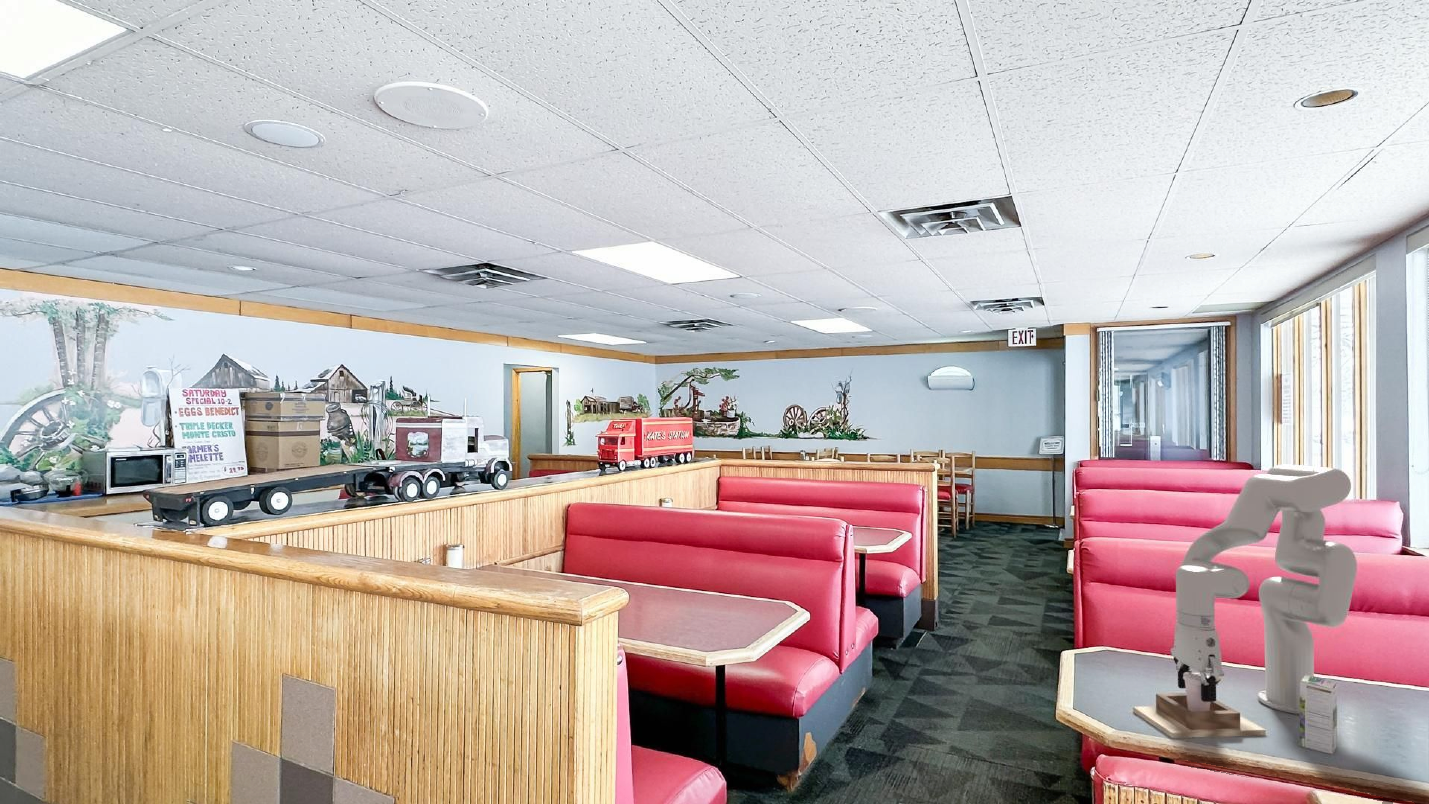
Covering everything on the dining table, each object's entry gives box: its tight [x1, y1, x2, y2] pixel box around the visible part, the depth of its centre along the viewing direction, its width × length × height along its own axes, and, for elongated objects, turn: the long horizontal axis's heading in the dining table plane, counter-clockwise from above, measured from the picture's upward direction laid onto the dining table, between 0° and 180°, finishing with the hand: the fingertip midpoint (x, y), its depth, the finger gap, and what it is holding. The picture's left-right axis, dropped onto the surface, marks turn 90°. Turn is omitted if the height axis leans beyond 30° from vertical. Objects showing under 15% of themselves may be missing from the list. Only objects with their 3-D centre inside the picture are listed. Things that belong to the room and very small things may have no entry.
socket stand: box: [1132, 692, 1267, 739], centre depth 168 cm, size 22×14×5 cm, turn 93°
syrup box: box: [1299, 675, 1338, 755], centre depth 156 cm, size 6×6×14 cm
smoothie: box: [1183, 671, 1211, 712], centre depth 168 cm, size 6×6×14 cm
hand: (1196, 693), depth 169 cm, fingers open, 7 cm apart
